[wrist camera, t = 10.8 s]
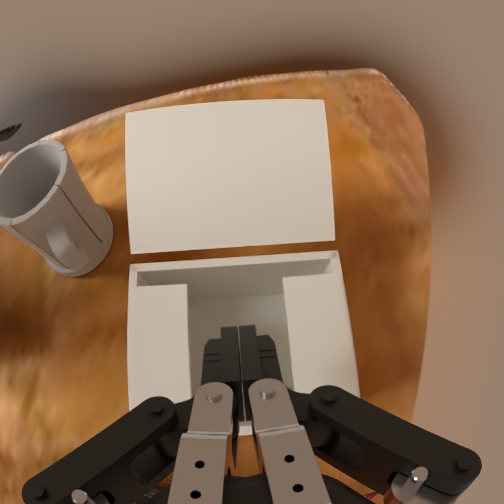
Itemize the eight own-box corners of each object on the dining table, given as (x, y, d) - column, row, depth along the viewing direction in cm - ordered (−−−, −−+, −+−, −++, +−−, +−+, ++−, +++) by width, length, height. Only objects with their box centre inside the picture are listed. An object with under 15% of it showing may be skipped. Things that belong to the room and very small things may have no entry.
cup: (140, 218, 34) (101, 143, 23) (107, 295, 30) (45, 244, 19) (69, 201, 35) (22, 136, 24) (37, 268, 31) (-27, 217, 20)
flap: (335, 240, 22) (323, 99, 21) (130, 254, 21) (125, 113, 20) (331, 239, 23) (321, 103, 22) (134, 252, 22) (128, 116, 21)
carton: (330, 412, 26) (364, 419, 18) (162, 423, 25) (128, 435, 17) (315, 286, 31) (339, 247, 23) (159, 297, 30) (127, 261, 22)
